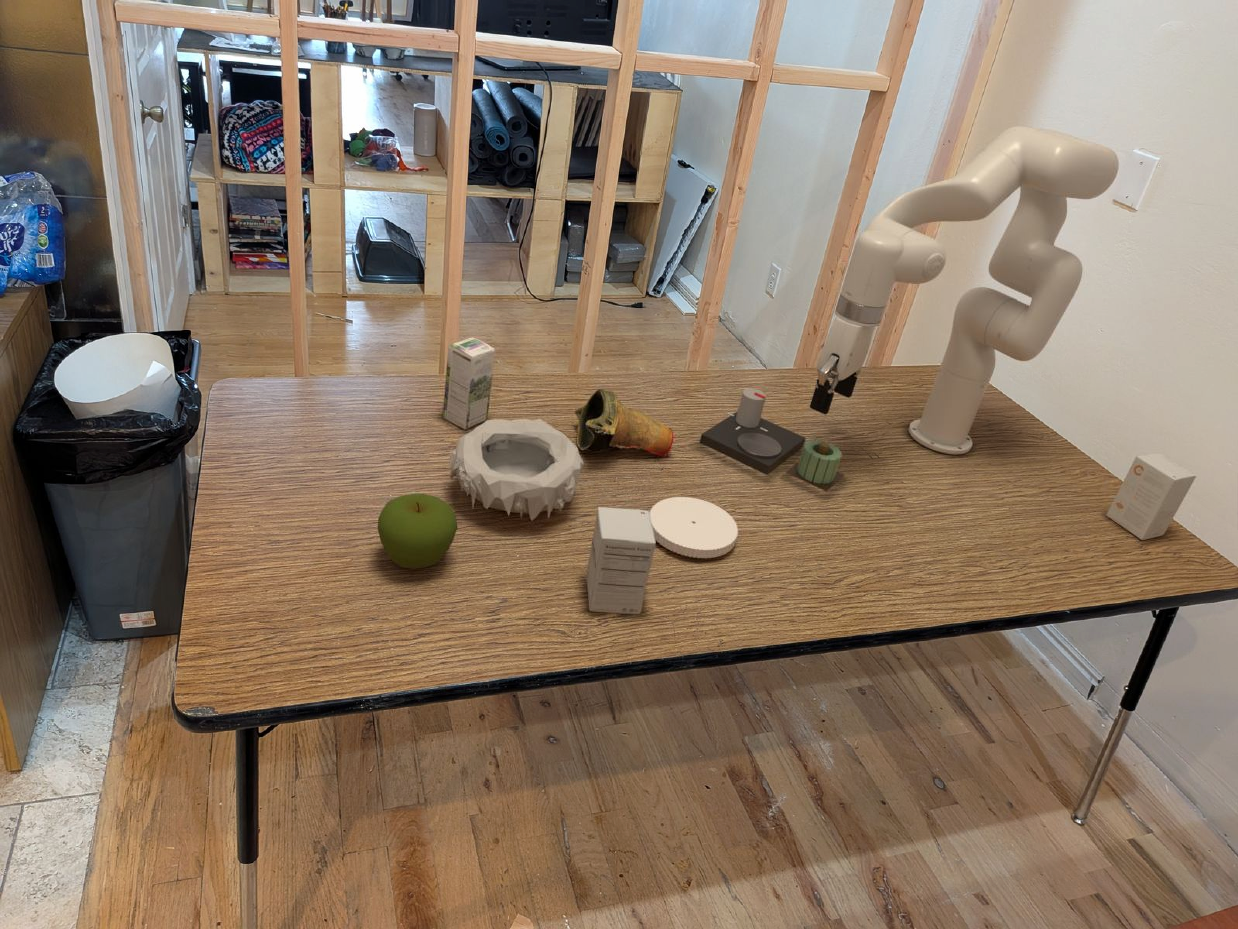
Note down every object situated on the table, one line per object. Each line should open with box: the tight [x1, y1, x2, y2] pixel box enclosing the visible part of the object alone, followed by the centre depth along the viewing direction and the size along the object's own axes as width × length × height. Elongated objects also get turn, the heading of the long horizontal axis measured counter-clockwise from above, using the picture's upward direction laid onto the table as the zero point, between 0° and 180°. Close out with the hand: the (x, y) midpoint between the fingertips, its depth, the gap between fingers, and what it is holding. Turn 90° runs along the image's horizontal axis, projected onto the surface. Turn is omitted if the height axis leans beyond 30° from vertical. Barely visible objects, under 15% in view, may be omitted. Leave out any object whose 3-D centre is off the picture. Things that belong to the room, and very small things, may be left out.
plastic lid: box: [649, 496, 739, 559], centre depth 143 cm, size 14×14×2 cm
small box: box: [1105, 452, 1197, 541], centre depth 165 cm, size 8×6×13 cm
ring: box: [797, 439, 843, 484], centre depth 162 cm, size 7×7×5 cm
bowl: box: [449, 418, 585, 521], centre depth 142 cm, size 21×20×10 cm
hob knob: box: [736, 388, 767, 428], centre depth 171 cm, size 4×4×6 cm
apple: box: [377, 493, 458, 570], centre depth 125 cm, size 11×10×10 cm
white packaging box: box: [585, 506, 657, 615], centre depth 125 cm, size 7×7×13 cm
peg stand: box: [785, 441, 845, 493], centre depth 163 cm, size 8×8×7 cm
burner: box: [737, 433, 781, 459], centre depth 165 cm, size 8×8×1 cm
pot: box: [573, 388, 675, 459], centre depth 160 cm, size 17×11×18 cm
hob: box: [699, 410, 807, 476], centre depth 169 cm, size 15×15×3 cm
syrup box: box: [442, 337, 496, 431], centre depth 159 cm, size 6×6×14 cm
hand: (830, 402), depth 157 cm, fingers open, 9 cm apart
